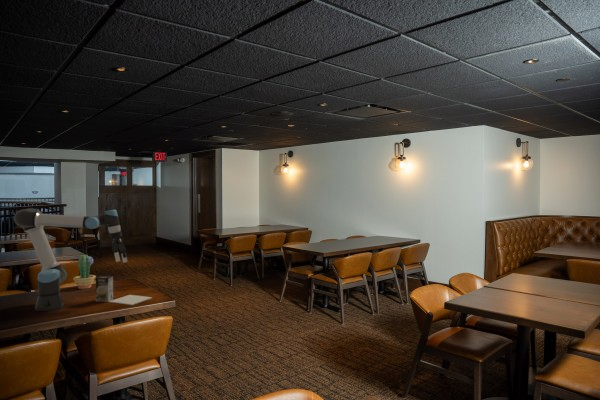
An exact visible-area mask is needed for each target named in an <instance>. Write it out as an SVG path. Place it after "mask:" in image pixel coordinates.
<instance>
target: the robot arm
mask: <svg viewBox="0 0 600 400" xmlns="http://www.w3.org/2000/svg"><path fill="white" fill-rule="evenodd" d="M13 217H14V218H13V220H14V223H15V224H16V226H19V227H21V228H22V229H23V231H24V233H27V234H28V236H29V239H30V241H31V243H32V246H33V249H34V250H35V253H36V255H37V258H38V260H39V262H40V266H41V269H40V272H38V274H37V291H38V292H37V295H38V296H37V299H36V303H35V307H34V310H35V311H36V312H48V311H54V310H58V309H59V310H60V309H61V308H63V307H64V301H63V298H62V296H61V285H62V284H64V283H65V281H66V279H67V275H68V274H67V271H66V270H65V269H64V268H63V266H62V265H61V263H60V262H58V261H57V260H56V257H55V255H54V252H53V249H52V247H51V245H50V242H49V239H48V237H47V235H46V232H45V230H44V228H45V227H57V228H58V227H59V228H77V229H78V228H80V229H89V230H93V229H97V228H98V227H104V226H107V230H108V233H109V238H110V239H111V248H112V249H111V250H112V253H113V254H114V258H115V262H116V263H119V262H121V259H122V263H123V264H124V263H128V258H127V248H126V246H125V244H124V239H123V238H121V237H123V233H122V230H121V227H122V226H121V225H120V220H119V215H118V211H117V210H116V209H111V210H105V211H104V214H100V215H99V214H98V215H93V216H84V215H83V216H82V215H69V214H66V215H65V214H53V213H51V214H49V213H43V212H41V211H40V210H39V209H37V208H33V207H31V208H25V209H24V208H23V209H20V210H18V211H17V212H15V214H14V216H13ZM119 251H120V253H119ZM120 255H121V258H120Z"/></svg>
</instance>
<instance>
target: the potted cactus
mask: <svg viewBox="0 0 600 400" xmlns="http://www.w3.org/2000/svg"><path fill="white" fill-rule="evenodd" d="M77 263H78V268H79V274H80V275H78V276H74V277H73V278H72V279H73V281H74V283H75V284H76V286H77V288H78V289H79V290H84V289H89V288H92V285H93V283H94V281H95V280H96V278H97V275H96V274H95V275H94V274H90V269H91V265H93V264H94V258H93V257H92V256H90V255H89V256H88V254H81V255H80V257H79V258H78V259H77Z"/></svg>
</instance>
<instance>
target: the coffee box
mask: <svg viewBox="0 0 600 400" xmlns="http://www.w3.org/2000/svg"><path fill="white" fill-rule="evenodd" d="M112 300H114V276H113V275H111V276H110V275H100V276H96V277H95V302H97V303H98V302H99V303H103V302H104V303H110V302H109V301H112Z"/></svg>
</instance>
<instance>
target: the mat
mask: <svg viewBox="0 0 600 400" xmlns="http://www.w3.org/2000/svg"><path fill="white" fill-rule="evenodd" d="M151 299H153V296H152V297H151V296H145V295H135V294H128V295H125V296H121V297H119V298H115V299H113V300H111V301H109V302H108V303H111V304H112V303H113V304H121V305H126V306H127V305H128V306H134V305H137V304H140V303H142V302H145V301H148V300H151Z"/></svg>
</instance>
